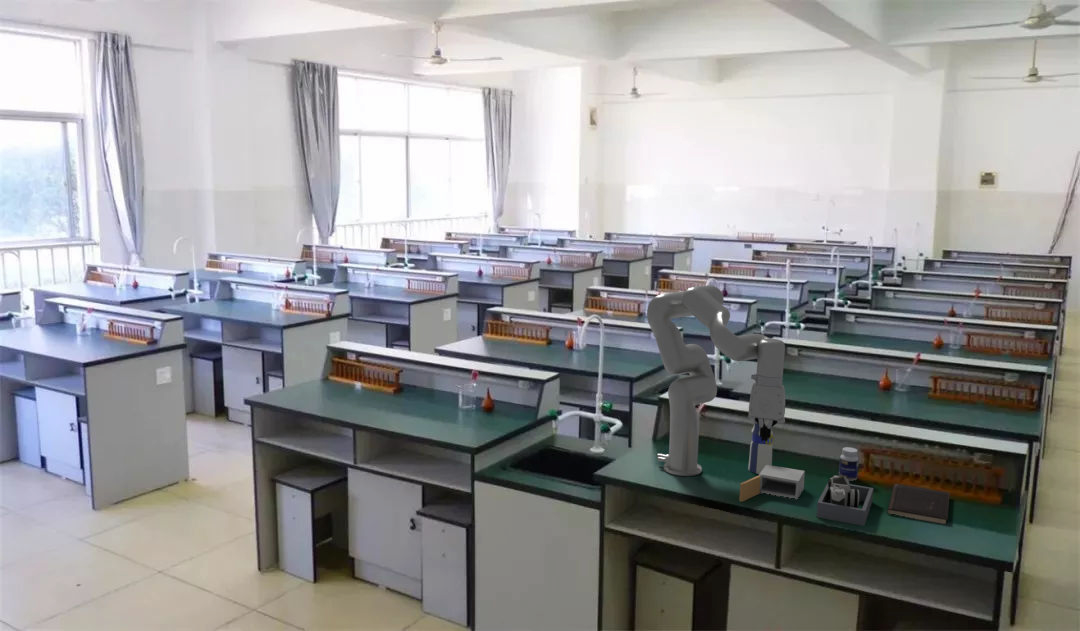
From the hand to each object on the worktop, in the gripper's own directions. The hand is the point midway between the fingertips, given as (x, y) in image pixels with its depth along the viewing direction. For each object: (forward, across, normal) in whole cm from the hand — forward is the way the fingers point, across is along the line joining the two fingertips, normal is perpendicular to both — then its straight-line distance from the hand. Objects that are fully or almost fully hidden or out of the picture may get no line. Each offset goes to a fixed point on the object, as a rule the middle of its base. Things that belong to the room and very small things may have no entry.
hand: (764, 439), depth 253 cm
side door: (+19, -3, +1) cm, 19 cm away
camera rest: (+19, +24, +4) cm, 31 cm away
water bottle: (+20, -5, +28) cm, 34 cm away
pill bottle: (+20, +23, +32) cm, 44 cm away
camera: (+19, +23, +3) cm, 30 cm away
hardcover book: (+20, +44, +17) cm, 51 cm away
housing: (+19, +4, +11) cm, 23 cm away
